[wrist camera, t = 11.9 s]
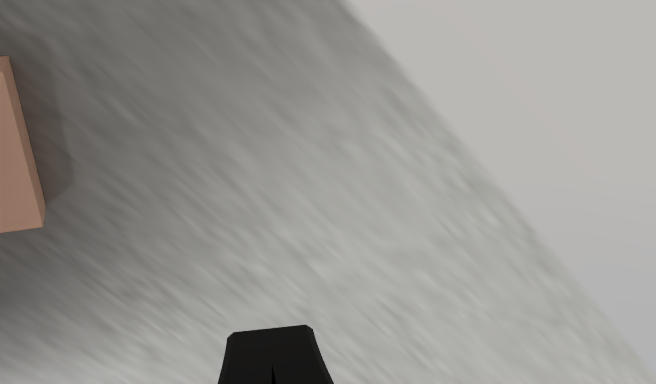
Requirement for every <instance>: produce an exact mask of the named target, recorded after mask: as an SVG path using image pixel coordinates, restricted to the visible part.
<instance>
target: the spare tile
mask: <svg viewBox="0 0 656 384" xmlns="http://www.w3.org/2000/svg"><path fill="white" fill-rule="evenodd" d="M45 208H46V204H45V200H44V196H43V192H42V188H41V184H40V180H39V176H38V172H37V168H36V164H35V160H34V156H33V152H32V148H31V144H30V140H29V136H28V132H27V128H26V124H25V120H24V116H23V112H22V108H21V104H20V100H19V96H18V92H17V88H16V84H15V80H14V76H13V73H12V69H11V65H10V61H9V57H8V56H0V233H4V232H11V231H19V230H26V229H33V228H40V227H43V224H44V216H45Z"/></svg>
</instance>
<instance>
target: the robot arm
mask: <svg viewBox="0 0 656 384" xmlns="http://www.w3.org/2000/svg"><path fill="white" fill-rule="evenodd" d="M218 384H334V383H333V381H332V379H331V377H330V374H329V372H328V370H327V368H326V365H325V363H324V361H323V358H322V356H321V353H320V351H319V348H318V345H317V342H316V339H315V336H314V332H313V329H312V328H310V327H309V326H307V325H299V326H289V327H280V328H270V329H261V330H251V331H242V332H233V333H232V334H231V335H230V336H229V337H228V338H227V344H226V351H225V356H224V360H223V365H222V369H221V373H220V377H219V381H218Z"/></svg>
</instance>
